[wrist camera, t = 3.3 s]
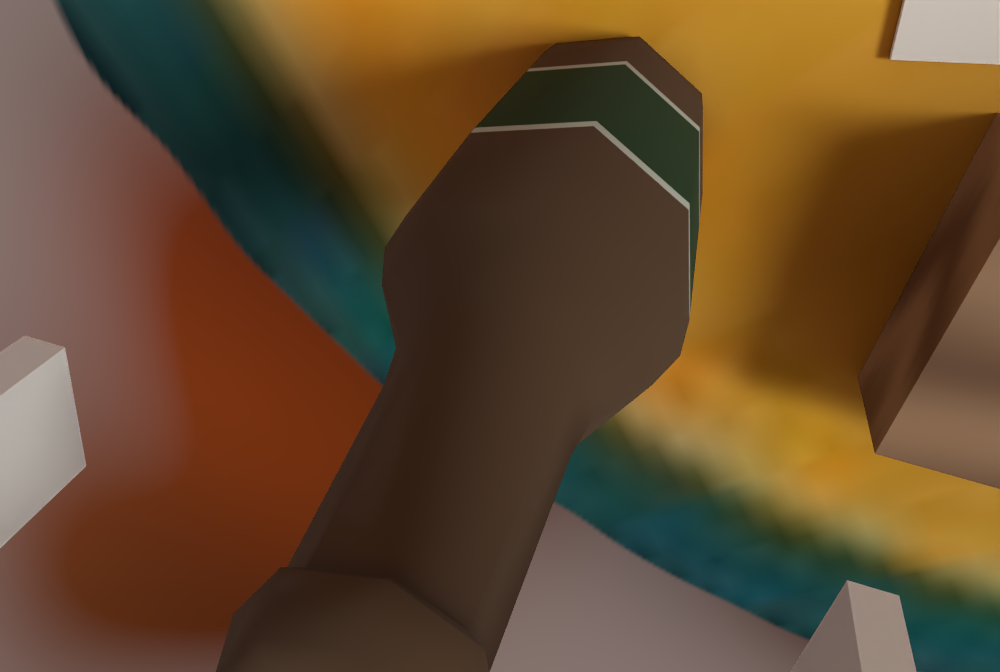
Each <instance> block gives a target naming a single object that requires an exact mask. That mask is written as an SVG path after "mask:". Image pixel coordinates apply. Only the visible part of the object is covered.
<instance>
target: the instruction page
mask: <svg viewBox="0 0 1000 672" xmlns="http://www.w3.org/2000/svg"><path fill="white" fill-rule="evenodd" d="M889 58H890V60H906V61H930V62H953V63H977V64H1000V0H903V2H902V6H901V11H900V15H899V19H898V23H897V27H896V31H895V35H894V40H893V44H892V48H891V52H890V56H889Z"/></svg>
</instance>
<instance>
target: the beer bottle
mask: <svg viewBox="0 0 1000 672" xmlns="http://www.w3.org/2000/svg"><path fill="white" fill-rule="evenodd" d="M702 152H703V105H702V93H701V92H699V91H698V90H697V89H696V88H695V87H694V86H693V85H692V84H691V83H690V82H689V81H688V80H686V79H685V78H684V77H683V76H682V75H681V74H680V73H679V72H678V71H677V70H676V69H674V68H673V67H672V66H671V65H670V64H669V63H668V62H667V61H666V60H665V59H664V58H662V57H661V56H660V55H659V54H658V53H657V52H656V51H655V50H654V49H653V48H652V47H651V46H649V45H648V44H647V43H646V42H645V41H644V40H643V39H642V38H641V37H629V38H617V39H605V40H593V41H581V42H569V43H558V44H555V45H554V46H552V47H551V48H550V49H548V50H547V51H545V52H544V53H543V54H542V55H541V57H540V58H539V59H538V60H537V61H536V62H535V63H534V64H533V65H532V66H531V67H530V69H529V70H528V71H527V72H526V73H525V74H524V75H523V76H522V77H521V78H520V79H519V80H518V82H517V83H516V84H515V85H514V86H513V87H512V88H511V89H510V90H509V91H508V92H507V94H506V95H505V96H504V97H503V98H502V99H501V100H500V101H499V102H498V103H497V104H496V106H495V107H494V108H493V109H492V110H491V111H490V112H489V113H488V114H487V115H486V116H485V117H484V119H483V120H482V121H481V122H480V123H479V124H478V125H477V126H476V127H475V128H474V129H473V131H472V132H471V133H470V134H469V135H468V137H467V138H466V139H465V140H464V142H463V143H462V144H461V146H460V147H459V148H458V149H457V151H456V152H455V153H454V155H453V156H452V157H451V158H450V160H449V161H448V162H447V164H446V165H445V166H444V167H443V169H442V170H441V171H440V173H439V174H438V175H437V177H436V178H435V179H434V180H433V182H432V183H431V184H430V186H429V187H428V188H427V189H426V191H425V192H424V193H423V195H422V196H421V197H420V198H419V200H418V201H417V202H416V204H415V205H414V206H413V207H412V209H411V210H410V211H409V213H408V214H407V215H406V216H405V218H404V219H403V221H402V223H401V224H400V226H399V227H398V229H397V230H396V232H395V233H394V235H393V236H392V238H391V239H390V241H389V242H388V244H387V245H386V247H385V252H384V266H383V279H382V288H383V292H384V296H385V301H386V305H387V310H388V314H389V318H390V323H391V327H392V332H393V336H394V340H395V345H396V350H395V353H394V356H393V359H392V363H391V366H390V369H389V372H388V375H387V378H386V381H385V384H384V386H383V388H382V390H381V392H380V394H379V396H378V397H377V399H376V401H375V403H374V405H373V407H372V409H371V410H370V412H369V414H368V416H367V418H366V420H365V422H364V424H363V426H362V427H361V429H360V432H359V433H358V435H357V437H356V439H355V441H354V443H353V445H352V446H351V448H350V450H349V452H348V454H347V456H346V458H345V459H344V461H343V463H342V465H341V467H340V469H339V471H338V473H337V474H336V477H335V478H334V480H333V482H332V484H331V486H330V488H329V490H328V492H327V493H326V495H325V497H324V499H323V501H322V503H321V505H320V507H319V508H318V510H317V512H316V514H315V516H314V518H313V520H312V522H311V524H310V525H309V527H308V529H307V531H306V533H305V535H304V537H303V539H302V540H301V543H300V544H299V546H298V548H297V550H296V552H295V554H294V556H293V557H292V559H291V561H290V563H289V565H288V567H285V568H284V567H281V568H279V569H278V570H277V571H276V572H275V573H274V574H273V575H272V576H271V577H270V578H269V579H268V580H267V581H266V582H265V583H264V584H263V585H262V586H261V587H260V588H259V589H258V590H257V591H256V592H255V593H254V594H253V595H252V596H251V597H250V598H249V599H248V600H247V601H246V602H245V603H244V604H243V605H242V606H241V607H240V608H239V609H238V610H237V611H236V612H235V613H234V614H233V616H232V619H231V623H230V626H229V629H228V633H227V637H226V640H225V643H224V646H223V650H222V653H221V657H220V660H219V664H218V667H217V670H216V672H490V669H491V666H492V664H493V661H494V658H495V656H496V653H497V650H498V648H499V645H500V643H501V640H502V637H503V635H504V632H505V629H506V627H507V624H508V621H509V619H510V616H511V613H512V611H513V608H514V605H515V603H516V600H517V597H518V595H519V592H520V589H521V587H522V584H523V581H524V579H525V576H526V574H527V571H528V568H529V566H530V563H531V560H532V558H533V555H534V552H535V550H536V547H537V544H538V542H539V539H540V536H541V534H542V531H543V528H544V526H545V523H546V520H547V518H548V515H549V512H550V509H551V507H552V504H553V502H554V499H555V496H556V494H557V491H558V488H559V486H560V483H561V480H562V478H563V475H564V472H565V470H566V467H567V464H568V462H569V459H570V457H571V454H572V452H573V451H574V449H575V447H576V446H577V444H578V443H580V442H581V441H583V440H584V439H585V438H586V437H588V436H589V435H590V434H591V433H593V432H594V431H595V430H596V429H598V428H599V427H600V426H601V425H603V424H604V423H605V422H606V421H608V420H609V419H610V418H611V417H613V416H614V415H615V414H616V413H618V412H619V411H620V410H621V409H623V408H624V407H625V406H626V405H628V404H629V403H630V402H631V401H633V400H634V399H635V398H636V397H638V396H639V395H640V394H641V393H643V392H644V391H645V390H646V389H648V388H649V387H650V386H651V385H652V384H653V383H654V382H655V381H656V380H657V379H658V378H659V377H660V376H661V375H662V374H663V373H664V372H665V371H666V370H667V369H668V368H669V367H670V366H671V365H672V364H673V363H674V361H675V360H676V359H677V358H678V357H679V356H680V353H681V350H682V346H683V342H684V338H685V334H686V331H687V327H688V323H689V319H690V309H691V299H692V289H693V279H694V270H695V260H696V250H697V240H698V231H699V221H700V211H701V201H702Z"/></svg>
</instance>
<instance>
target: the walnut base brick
mask: <svg viewBox="0 0 1000 672" xmlns="http://www.w3.org/2000/svg"><path fill="white" fill-rule="evenodd" d="M858 380H859V384H860V389H861V393H862V398H863V402H864V407H865V411H866V416H867V420H868V425H869V429H870V434H871V438H872V443H873V447H874V452H875V454H878V455H882V456H885V457H889V458H892V459H896V460H900V461H903V462H907V463H910V464H914V465H917V466H921V467H924V468H928V469H931V470H935V471H938V472H942V473H946V474H949V475H953V476H956V477H960V478H963V479H967V480H970V481H974V482H977V483H981V484H985V485H988V486H992V487H995V488H999V489H1000V113H996V115H995V117H994V119H993V121H992V122H991V124H990V126H989V128H988V130H987V132H986V134H985V136H984V138H983V140H982V142H981V143H980V145H979V147H978V149H977V151H976V153H975V155H974V157H973V159H972V161H971V162H970V164H969V166H968V168H967V170H966V172H965V174H964V176H963V178H962V180H961V182H960V183H959V185H958V187H957V189H956V191H955V193H954V195H953V197H952V199H951V201H950V203H949V204H948V206H947V208H946V210H945V212H944V214H943V216H942V218H941V220H940V222H939V224H938V225H937V227H936V229H935V231H934V233H933V235H932V237H931V239H930V241H929V243H928V244H927V246H926V248H925V250H924V252H923V254H922V256H921V258H920V260H919V262H918V264H917V265H916V267H915V269H914V271H913V273H912V275H911V277H910V279H909V281H908V283H907V285H906V286H905V288H904V290H903V292H902V294H901V296H900V298H899V300H898V302H897V304H896V306H895V307H894V309H893V311H892V313H891V315H890V317H889V319H888V321H887V323H886V325H885V326H884V328H883V330H882V332H881V334H880V336H879V338H878V340H877V342H876V344H875V346H874V347H873V349H872V351H871V353H870V355H869V357H868V359H867V361H866V363H865V365H864V367H863V368H862V370H861V372H860V374H859V376H858Z"/></svg>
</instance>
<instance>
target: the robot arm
mask: <svg viewBox="0 0 1000 672" xmlns="http://www.w3.org/2000/svg"><path fill="white" fill-rule="evenodd" d="M85 467H86V462H85V456H84V451H83V445H82V440H81V435H80V429H79V423H78V418H77V412H76V407H75V401H74V396H73V390H72V385H71V379H70V373H69V368H68V363H67V357H66V351H65V348H64V347H62V346H58V345H55V344H51V343H48V342H45V341H41V340H38V339H34V338H31V337H28V336H23V337H22V338H20V339H19V340H17V341H16V342H14V343H13V344H12V345H10V346H9V347H7V348H6V349H4V350H3V351H1V352H0V548H1V547H2V546H3V545H4V544H5V543H6V542H7V541H8V540H9V539H10V538H11V537H12V536H13V535H14V534H15V533H17V532H18V531H19V529H21V528H22V527H23V526H24V525H25V524H26V523H27V522H28V521H29V520H30V519H31V518H32V517H33V516H34V515H35V514H36V513H38V512H39V511H40V510H41V509H42V508H43V507H44V506H45V505H46V504H47V503H48V502H49V501H50V500H51V499H52V498H53V497H54V496H55V495H56V494H57V493H58V492H59V491H61V490H62V489H63V488H64V487H65V486H66V485H67V484H68V483H69V482H70V481H71V480H72V479H73V478H74V477H75V476H76V475H77V474H78V473H79V472H80V471H81V470H83V469H84V468H85ZM790 672H916V668H915V664H914V659H913V655H912V651H911V646H910V642H909V637H908V633H907V629H906V624H905V620H904V615H903V611H902V607H901V602H900V598H899V596H898V595H895V594H891V593H888V592H885V591H881V590H878V589H874V588H871V587H868V586H864V585H861V584H858V583H854V582H851V581H848V580H847V581H846V583H845V585H844V586H843V588H842V589H841V591H840V593H839V594H838V596H837V597H836V599H835V601H834V602H833V604H832V605H831V607H830V609H829V610H828V612H827V613H826V615H825V617H824V618H823V620H822V622H821V623H820V625H819V626H818V628H817V630H816V631H815V633H814V634H813V636H812V638H811V639H810V641H809V642H808V644H807V646H806V647H805V649H804V650H803V652H802V654H801V655H800V657H799V659H798V660H797V662H796V663H795V665H794V667H793V668H792V670H791V671H790Z"/></svg>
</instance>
